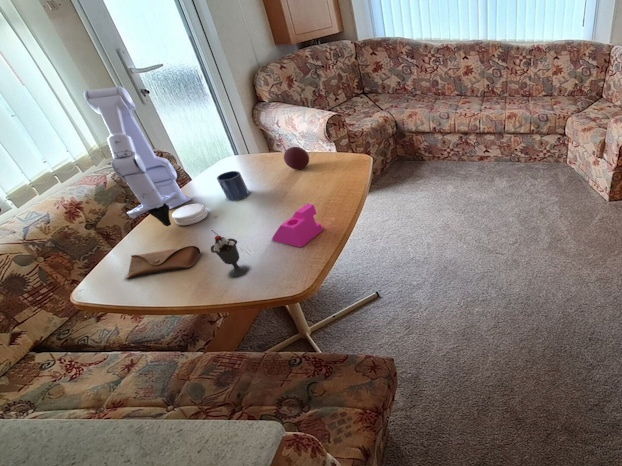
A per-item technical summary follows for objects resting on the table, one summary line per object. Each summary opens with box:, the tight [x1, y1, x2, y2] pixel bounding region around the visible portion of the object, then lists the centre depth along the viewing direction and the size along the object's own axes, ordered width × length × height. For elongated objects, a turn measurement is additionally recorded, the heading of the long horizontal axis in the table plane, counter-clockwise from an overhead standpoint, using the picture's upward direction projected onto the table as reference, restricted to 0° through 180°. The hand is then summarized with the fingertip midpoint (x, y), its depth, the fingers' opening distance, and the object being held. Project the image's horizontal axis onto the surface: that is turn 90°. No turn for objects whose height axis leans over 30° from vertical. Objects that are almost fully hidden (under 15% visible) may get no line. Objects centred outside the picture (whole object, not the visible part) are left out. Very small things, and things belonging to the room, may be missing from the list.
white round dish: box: [171, 203, 209, 226], centre depth 138 cm, size 10×10×4 cm
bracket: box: [271, 203, 324, 248], centre depth 126 cm, size 12×10×10 cm
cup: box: [216, 170, 250, 202], centre depth 150 cm, size 8×8×9 cm
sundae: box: [210, 229, 249, 278], centre depth 110 cm, size 7×7×15 cm
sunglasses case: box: [125, 245, 201, 280], centre depth 117 cm, size 18×7×7 cm, turn 107°
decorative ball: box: [283, 146, 310, 170], centre depth 168 cm, size 10×10×10 cm
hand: (167, 224), depth 133 cm, fingers closed
